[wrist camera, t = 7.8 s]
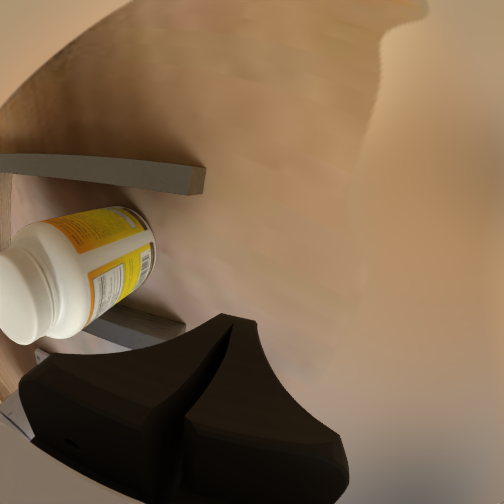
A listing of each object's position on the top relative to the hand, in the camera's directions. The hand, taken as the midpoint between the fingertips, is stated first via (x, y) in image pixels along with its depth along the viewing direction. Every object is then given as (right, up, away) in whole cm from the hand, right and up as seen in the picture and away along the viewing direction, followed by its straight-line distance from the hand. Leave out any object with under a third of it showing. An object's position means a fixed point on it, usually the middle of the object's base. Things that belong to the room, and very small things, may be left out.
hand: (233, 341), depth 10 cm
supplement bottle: (-8, +4, +8) cm, 12 cm away
